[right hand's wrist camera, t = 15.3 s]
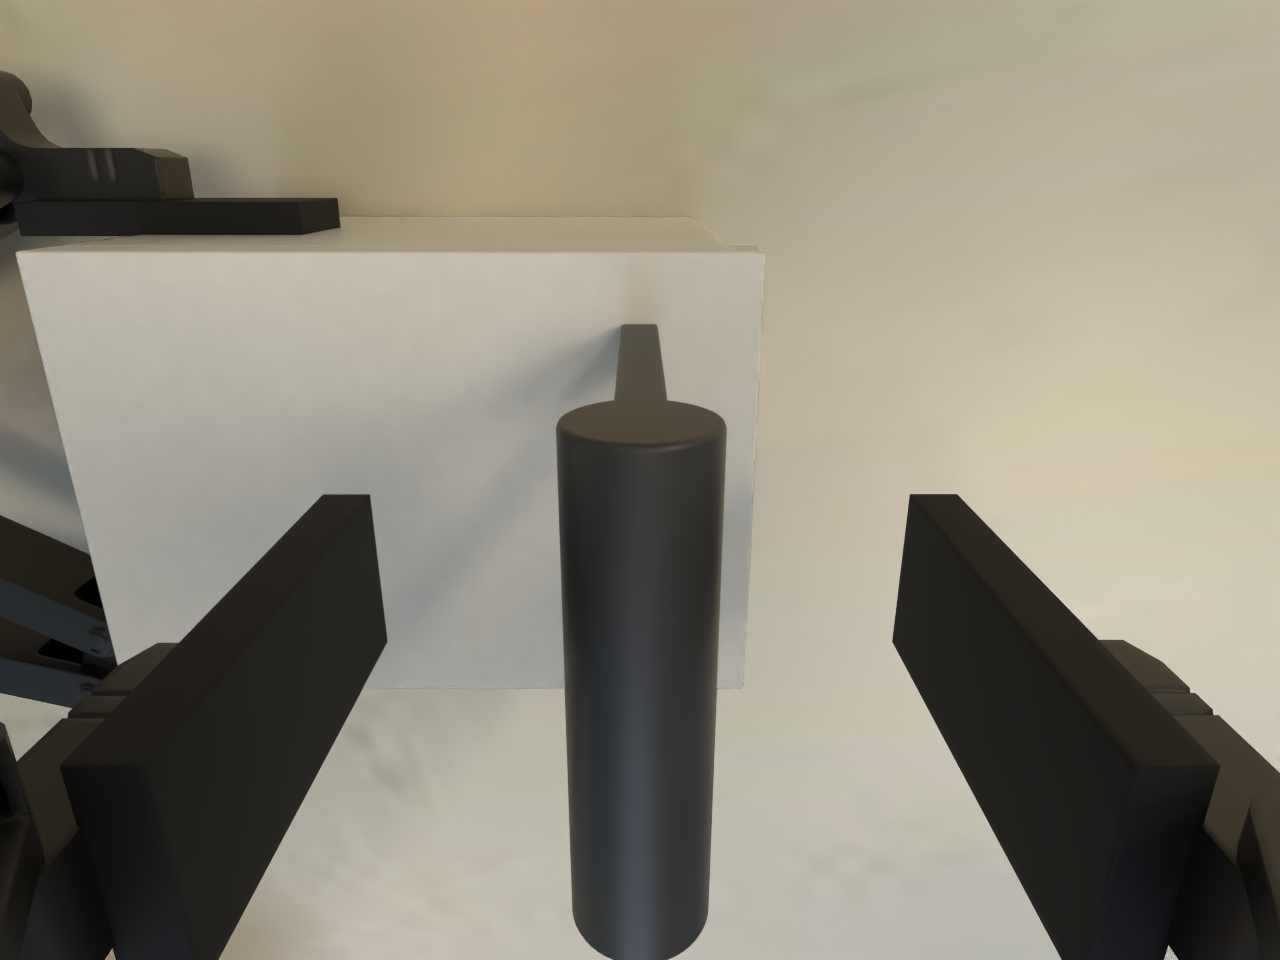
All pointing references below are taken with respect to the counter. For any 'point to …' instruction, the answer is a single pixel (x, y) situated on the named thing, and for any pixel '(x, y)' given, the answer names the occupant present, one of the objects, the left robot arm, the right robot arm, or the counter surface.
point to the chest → (461, 233)
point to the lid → (450, 488)
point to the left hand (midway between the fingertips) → (345, 417)
